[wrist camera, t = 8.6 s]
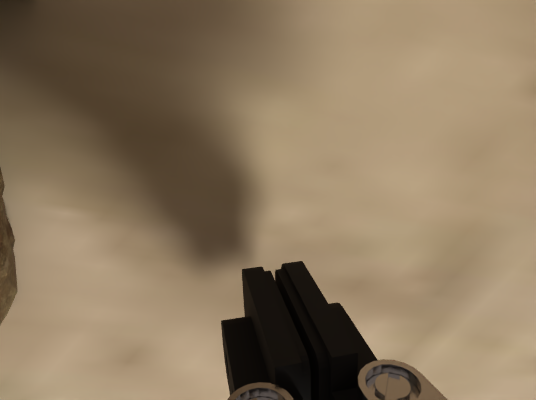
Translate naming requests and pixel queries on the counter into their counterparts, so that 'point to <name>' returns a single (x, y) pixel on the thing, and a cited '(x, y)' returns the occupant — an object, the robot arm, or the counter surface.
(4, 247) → the stone block
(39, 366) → the counter surface
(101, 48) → the counter surface
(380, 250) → the counter surface
